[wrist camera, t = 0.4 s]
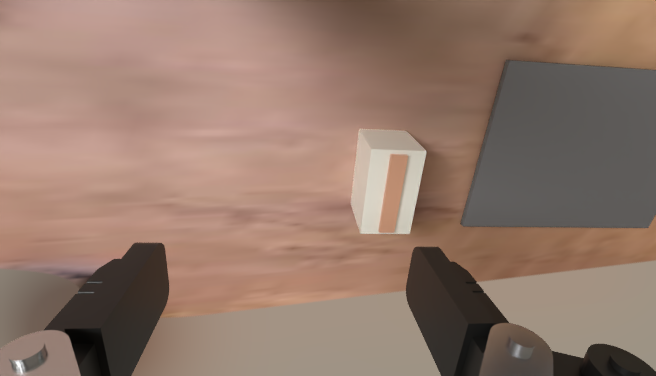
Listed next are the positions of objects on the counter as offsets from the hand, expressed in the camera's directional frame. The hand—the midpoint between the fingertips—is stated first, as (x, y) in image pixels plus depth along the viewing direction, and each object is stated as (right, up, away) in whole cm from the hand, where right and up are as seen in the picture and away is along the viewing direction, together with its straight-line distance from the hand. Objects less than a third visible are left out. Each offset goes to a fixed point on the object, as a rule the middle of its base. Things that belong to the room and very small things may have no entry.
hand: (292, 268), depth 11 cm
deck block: (+5, +4, +19) cm, 20 cm away
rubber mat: (+24, +6, +20) cm, 32 cm away
